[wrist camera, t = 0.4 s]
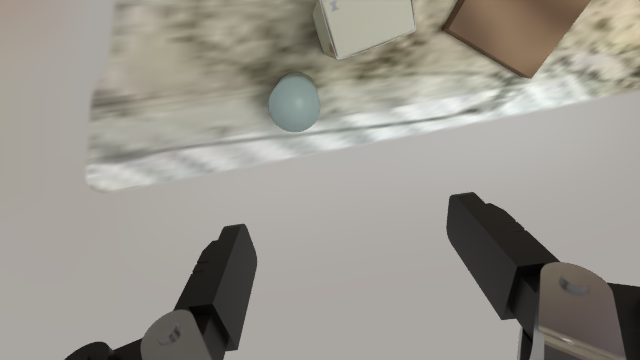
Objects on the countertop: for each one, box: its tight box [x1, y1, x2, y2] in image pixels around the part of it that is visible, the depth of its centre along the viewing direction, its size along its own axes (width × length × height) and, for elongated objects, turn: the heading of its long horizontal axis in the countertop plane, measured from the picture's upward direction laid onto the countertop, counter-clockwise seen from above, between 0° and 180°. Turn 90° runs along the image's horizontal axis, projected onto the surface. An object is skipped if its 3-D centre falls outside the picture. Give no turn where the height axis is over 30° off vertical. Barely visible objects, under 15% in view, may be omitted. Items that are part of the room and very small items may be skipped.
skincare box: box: [312, 0, 416, 60], centre depth 24 cm, size 6×4×12 cm
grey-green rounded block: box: [268, 72, 320, 132], centre depth 29 cm, size 5×5×7 cm
